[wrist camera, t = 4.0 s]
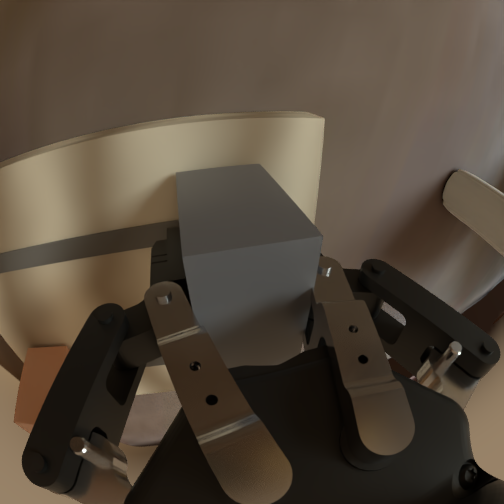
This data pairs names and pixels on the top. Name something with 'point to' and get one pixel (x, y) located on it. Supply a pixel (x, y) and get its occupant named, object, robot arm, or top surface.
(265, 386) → the robot arm
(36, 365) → the block
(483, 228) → the photo printer
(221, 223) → the block
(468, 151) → the top surface
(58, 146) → the fader console
